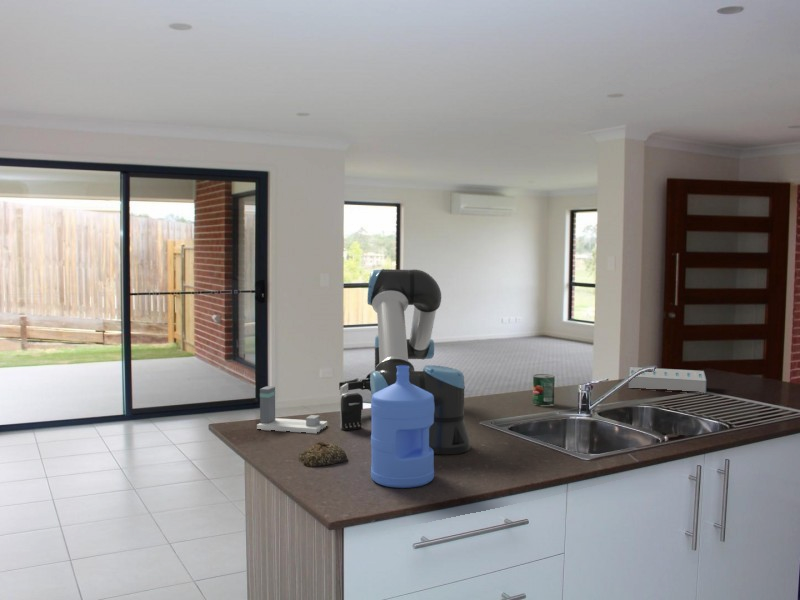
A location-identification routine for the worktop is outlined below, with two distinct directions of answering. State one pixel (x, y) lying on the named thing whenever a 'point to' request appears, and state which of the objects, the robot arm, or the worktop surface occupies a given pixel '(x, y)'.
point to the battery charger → (351, 411)
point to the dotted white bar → (669, 379)
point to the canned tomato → (543, 389)
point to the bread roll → (322, 455)
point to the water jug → (402, 434)
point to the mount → (278, 424)
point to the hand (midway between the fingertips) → (360, 392)
